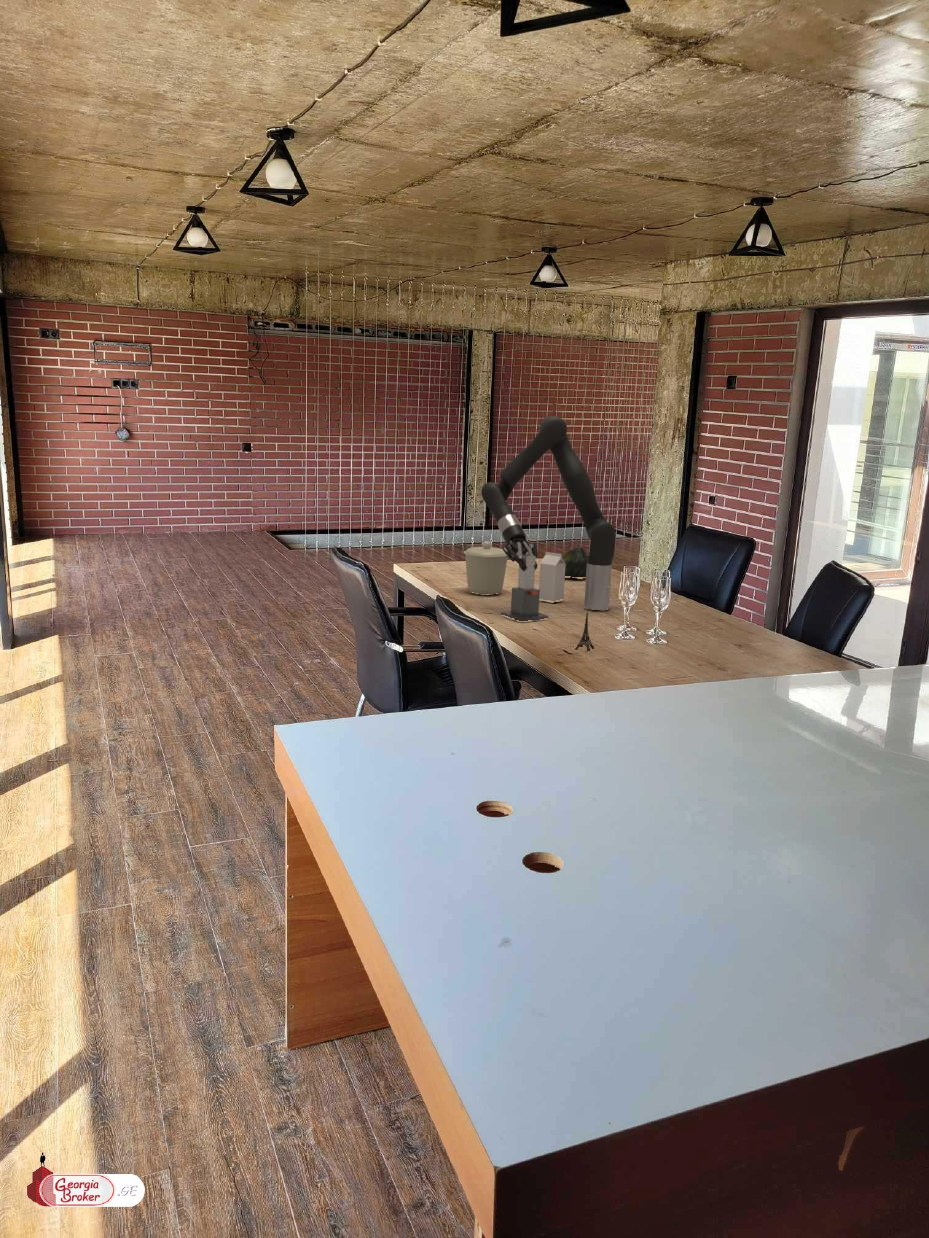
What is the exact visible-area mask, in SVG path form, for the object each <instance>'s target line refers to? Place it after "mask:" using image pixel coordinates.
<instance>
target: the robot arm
mask: <svg viewBox="0 0 929 1238" xmlns="http://www.w3.org/2000/svg"><path fill="white" fill-rule="evenodd" d="M567 433H568V426H567V423H566V421H565V420H564V419H563V418H561V417H559V416H556V415H549V416H547V417H545V418H543V419H542V421H541V423H540V426H539V432H538V433H537V434H536V436H535V437H534V439H533V440H532V441H531V442H530V443H529V444H528V445H527V446H526V447H525V448H524V449H522V451H520V452H519V453H518V454H517V455H516V456H515V457H514V458H512V460H511V461H510V462H509V463H508V464H507V465H506V466H505V467H504V469H502V470H501V472H500V474H499V476H500V481H499V482H498V484H497V483H496V482H492V481H489V482H486V483H485V484H483V486H482V487H481V492H480V493H481V497H482V499H483V501H484V503H485V504H486V506H487V508H488V509H489V510H490V512H491V513H492V515H493V517H494V520H495V522H496V524H497V526H498V531H499V532H500V534H501V536H502V538H503V540H504V542H505V544H506V545H505V546H504V547H503V548H502V549H503V551H504V552H505V553H506V555H507V556H508V559H509V560H510V561H511V562H513V563H514V562H516V563H517V564H518V567H519V566H520V568H521V569H522V571H525V570H526V569H527V566H526V564H525V562H524V560H523V559H522V555H528V554H529V555H533V556H536V559H537V558H538V557H539V553H538V546H537V543H535V542H534V543H529V541H528V540H527V536H526V535H527V534H525V531H524V529H523V527H522V526H521V523H520V520H519V519H518V518H517V516H516V515H515V512H514V510H513V509H512V506H510V504H509V503H508V501H507V500H508V498H509V497H510V495H511V494H512V492H513V490H514V488H515V487H516V485H517V484H518V483H519V482H520V481H521V480H522V478H523V477H524V476H525V475H526V474H527V473H528V472H529V471H530V470H531V469H532V468H533V466H534V465H535V464H536V463H537V462H538V461H539V460H540V459H541V458H542V457H543V456H544V455H545V454H546V453H547V452H548V451H549V450H550V453H551V454H552V456H553V458H554V461H555V463H556V465H557V466H556V467H557V470H558V473H559V474H560V477H561V479H562V482H563V484H564V486H565V489H566V491H567V494H568V495H569V497H570V498H571V500H572V502H573V504H574V506H575V507H576V509H577V511H578V513H579V515H580V517H581V520H582V522H583V524H584V528H585V532H586V534H587V537H588V539H589V541H590V543H589V552H588V554H587V555H588V557H587V571H586V578H585V586H584V587H585V591H584V601H583V608H584V607H585V608H589V609H592V610H608V609H609V610H610V600H611V585H612V584H611V581H612V568H613V567H612V566H613V560H614V556H615V550H616V542H617V541H616V539H617V538H616V537H617V534H616V533H617V531H616V529H615V527H614V525H612V523H610V522H608V521H607V519H606V518H605V517H604V515H603V513H602V510H601V509H600V507H599V505H598V501H597V495H596V493H595V489H594V485H593V483H592V480H591V478H590V476H589V473H588V472H587V470H586V467H585V466H584V464H583V463H582V461H581V459H580V458H579V456H578V455H577V454H576V451H575V450H574V449H573V446H572V444H571V442H570V440H569V437H568V434H567ZM538 566H539V565H538V562H537V560H535V571H536V570H537V569H538ZM585 608H584V609H585ZM609 610H608V611H609Z"/></svg>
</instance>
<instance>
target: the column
mask: <svg viewBox="0 0 929 1238" xmlns="http://www.w3.org/2000/svg"><path fill="white" fill-rule="evenodd" d="M522 559H523V560H524V562H525V564H526V566H527V569H526V570H525V571H522V569H521V568H520V566H519V565H518V577H517V578H518V580H517V587H518V589H521V590H524V591H525V590H534V588H535V576H536V575H535V574H536V573H535V572H536V570H535V561H536V559H537V558H536V556H533V555H529V554H528V555H523V554H522Z"/></svg>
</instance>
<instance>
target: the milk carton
mask: <svg viewBox="0 0 929 1238" xmlns="http://www.w3.org/2000/svg"><path fill="white" fill-rule="evenodd" d="M562 555H563V554H562V553H558V552H557V553H556V552H549V551H545V555H544V556H543V558H542V560H541V561H540V565H539V566H540V567H539V578H538V579H539V581H538V590H540V595H539V599H543V600H551V601H556V600H560V599H563V600H564V596H565V595H564V594H565V582H566V581H565V580H566V579H565V565H566V563H565V562H564V560H563V558H562Z"/></svg>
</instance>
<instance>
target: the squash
mask: <svg viewBox="0 0 929 1238" xmlns="http://www.w3.org/2000/svg"><path fill="white" fill-rule="evenodd" d="M588 555H589V554H587V552H586V551H585V549H584V548H583V547H576V548H574V549H572V550H569V551H566V552H565V553H563V554H562V558H563V560H564V562H565V563H566V565H565V576H571V577H586V571H587V557H588Z"/></svg>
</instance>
